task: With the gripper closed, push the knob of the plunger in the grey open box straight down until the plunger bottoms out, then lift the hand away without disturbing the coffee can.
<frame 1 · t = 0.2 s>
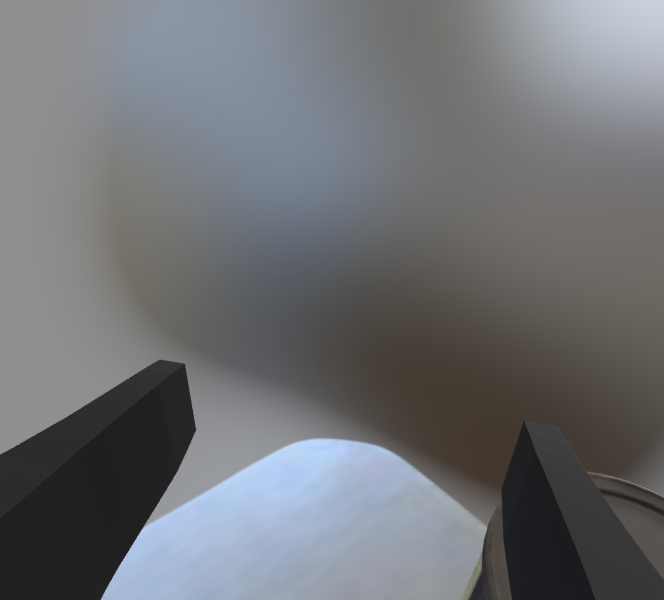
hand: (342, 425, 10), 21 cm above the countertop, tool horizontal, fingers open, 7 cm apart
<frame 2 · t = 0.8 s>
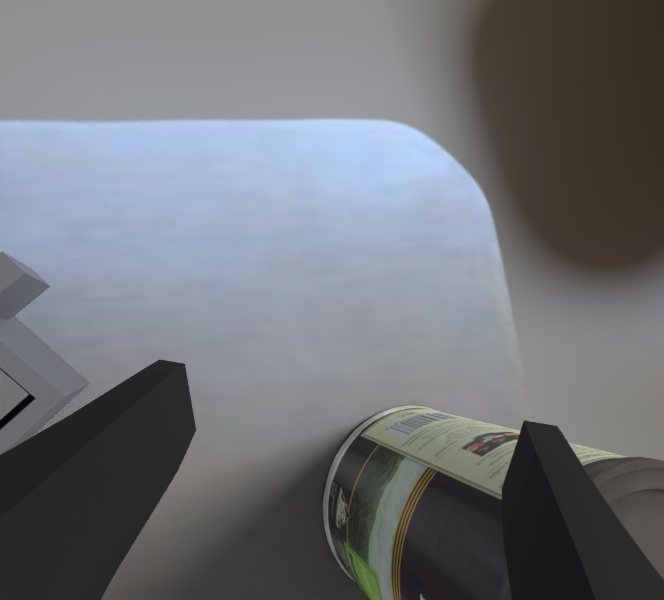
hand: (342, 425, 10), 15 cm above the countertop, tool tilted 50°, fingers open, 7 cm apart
coffee can: (406, 496, 27), on the countertop
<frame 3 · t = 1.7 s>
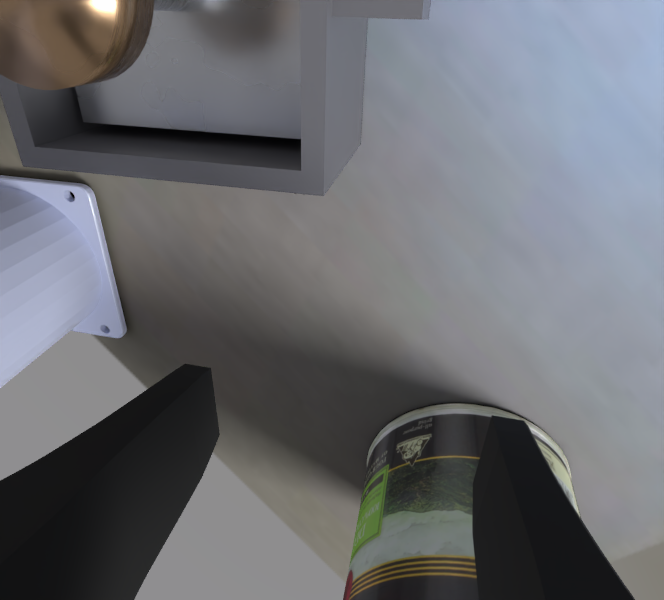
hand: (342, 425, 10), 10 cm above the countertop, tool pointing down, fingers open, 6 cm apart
coffee can: (464, 472, 25), on the countertop
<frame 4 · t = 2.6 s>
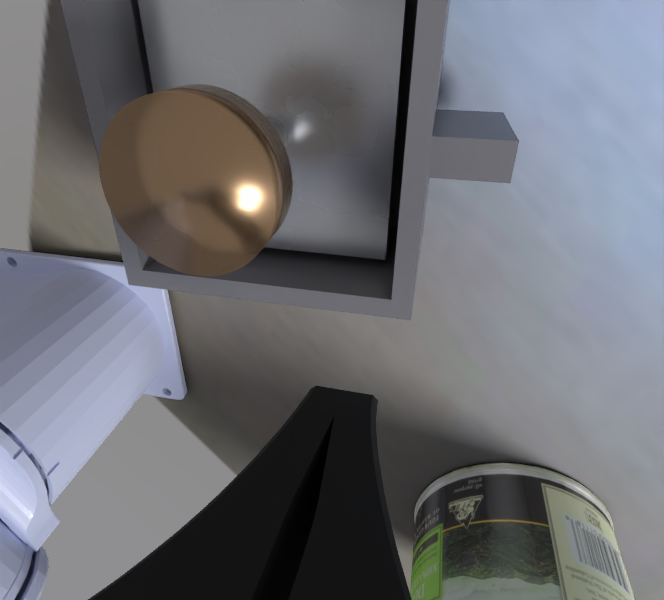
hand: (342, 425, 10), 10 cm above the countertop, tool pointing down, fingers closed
grey open box: (309, 111, 17), on the countertop
plunger: (241, 156, 12), point 7 cm above the countertop, slide at 0.0 cm
coffee can: (508, 523, 26), on the countertop
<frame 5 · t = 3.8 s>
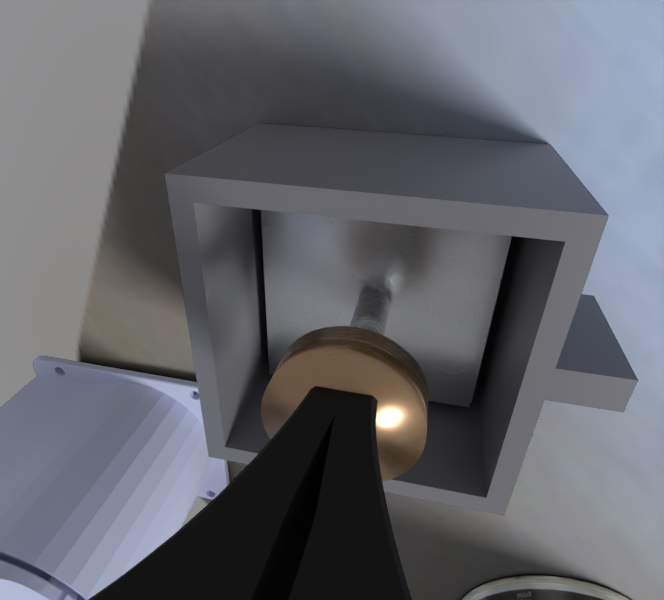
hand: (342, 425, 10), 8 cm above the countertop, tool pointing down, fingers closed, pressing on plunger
grey open box: (384, 263, 17), on the countertop
plunger: (362, 347, 13), point 5 cm above the countertop, slide at 1.4 cm, touching gripper
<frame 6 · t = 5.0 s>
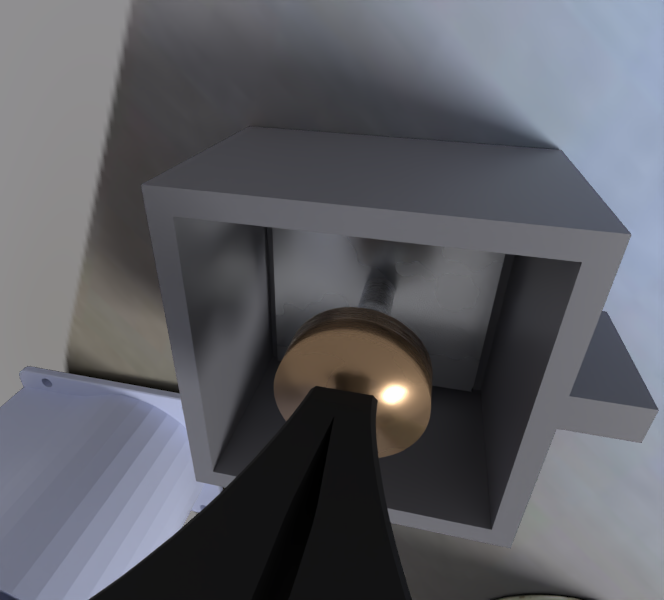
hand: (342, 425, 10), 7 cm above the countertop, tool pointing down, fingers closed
grey open box: (383, 274, 16), on the countertop
plunger: (368, 331, 13), point 3 cm above the countertop, slide at 3.2 cm
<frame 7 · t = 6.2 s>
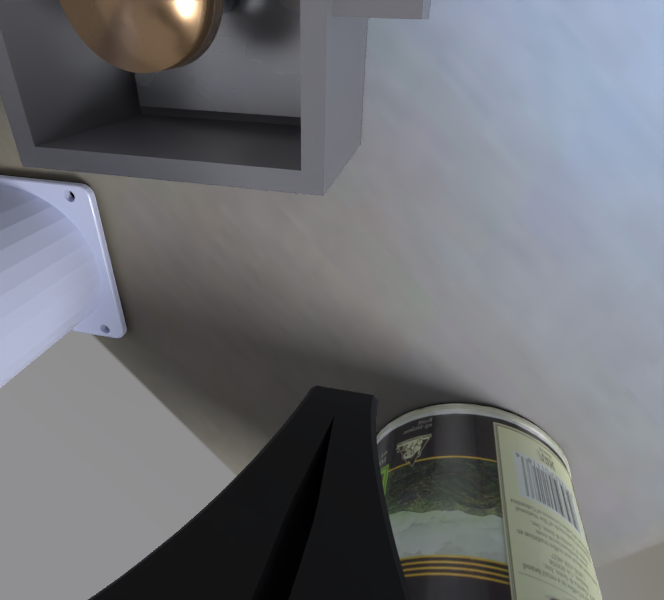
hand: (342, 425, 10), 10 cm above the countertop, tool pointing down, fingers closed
coffee can: (464, 472, 25), on the countertop
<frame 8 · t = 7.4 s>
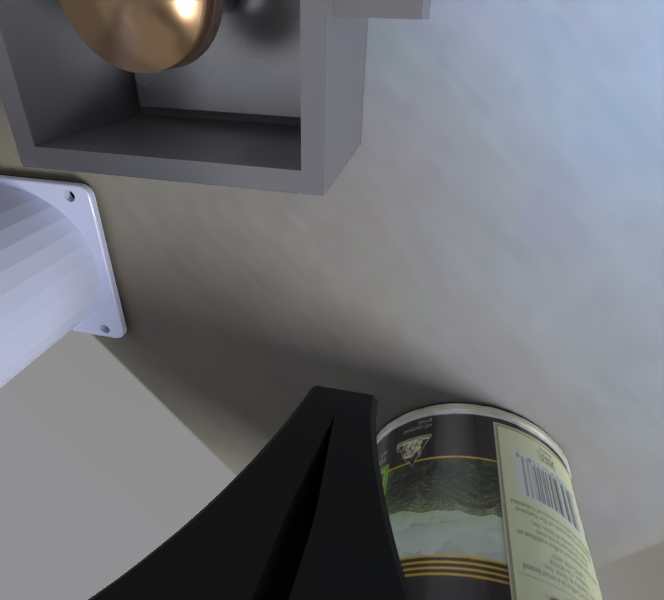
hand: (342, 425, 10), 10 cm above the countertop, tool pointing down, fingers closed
coffee can: (464, 472, 25), on the countertop
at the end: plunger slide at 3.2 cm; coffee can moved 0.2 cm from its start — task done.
